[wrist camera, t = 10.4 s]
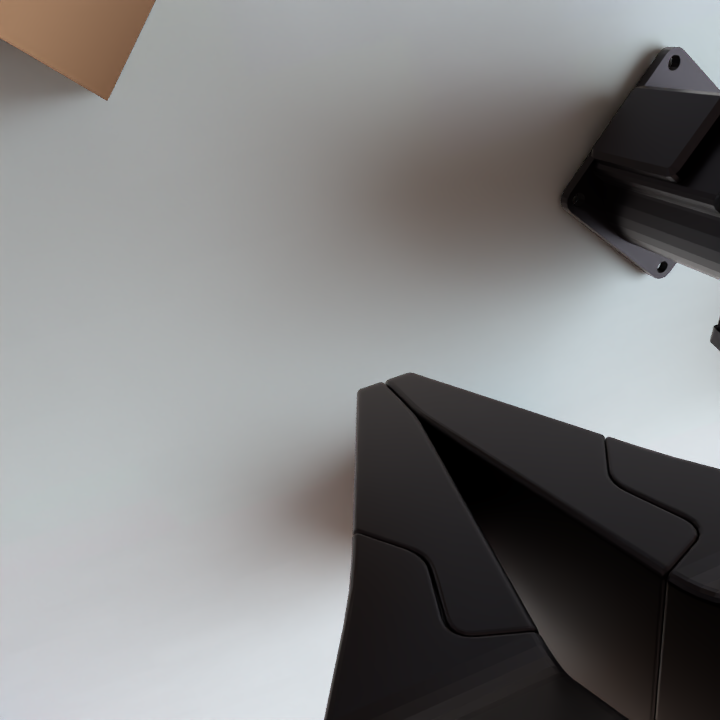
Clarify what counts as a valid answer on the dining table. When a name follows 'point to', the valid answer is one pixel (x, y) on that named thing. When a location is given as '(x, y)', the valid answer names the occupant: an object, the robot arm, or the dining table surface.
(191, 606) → the dining table surface
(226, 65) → the dining table surface
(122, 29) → the lever stand
